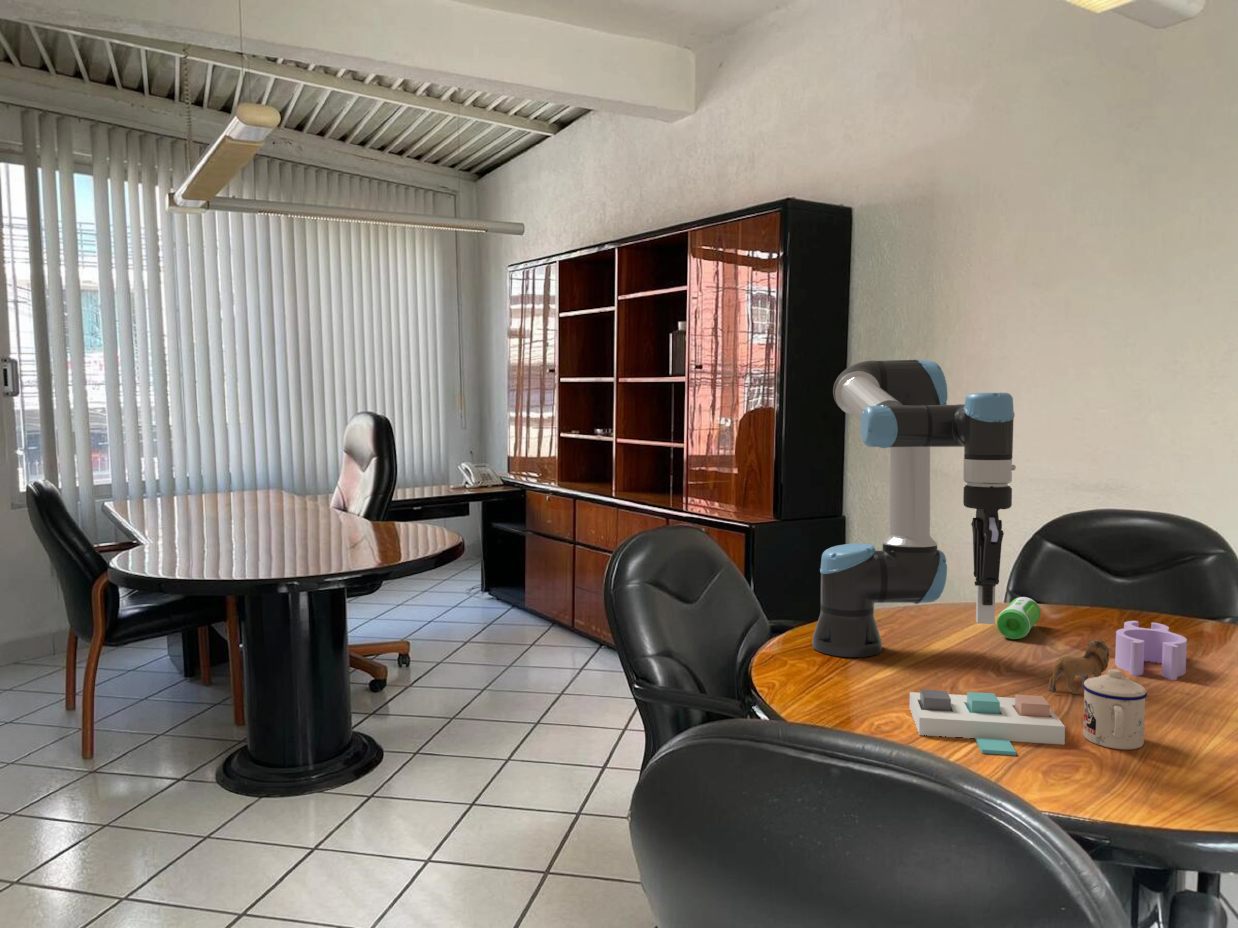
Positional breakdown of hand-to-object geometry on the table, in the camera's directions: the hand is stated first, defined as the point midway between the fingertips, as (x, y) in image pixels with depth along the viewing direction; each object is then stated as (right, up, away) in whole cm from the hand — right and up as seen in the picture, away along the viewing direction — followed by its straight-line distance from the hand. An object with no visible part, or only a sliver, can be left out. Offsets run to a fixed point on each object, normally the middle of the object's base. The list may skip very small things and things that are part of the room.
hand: (985, 622), depth 147 cm
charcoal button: (-7, -16, +3) cm, 18 cm away
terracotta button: (+8, -16, 0) cm, 18 cm away
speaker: (+34, -14, +61) cm, 71 cm away
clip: (+49, -16, +35) cm, 62 cm away
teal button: (0, -16, +1) cm, 16 cm away
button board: (0, -18, +1) cm, 18 cm away
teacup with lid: (+18, -19, -7) cm, 27 cm away
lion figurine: (+27, -17, +20) cm, 37 cm away
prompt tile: (-2, -19, -8) cm, 20 cm away
